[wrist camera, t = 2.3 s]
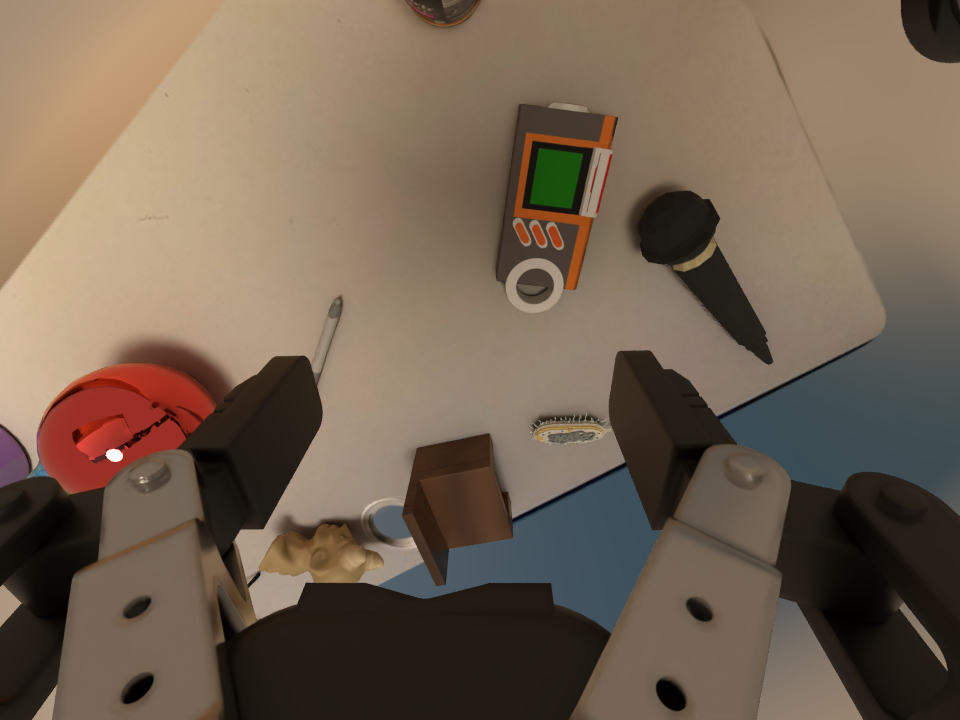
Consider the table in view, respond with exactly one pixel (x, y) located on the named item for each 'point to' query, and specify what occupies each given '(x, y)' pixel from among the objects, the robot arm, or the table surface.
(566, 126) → the electronic device
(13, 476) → the tape roll
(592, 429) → the bacterium model
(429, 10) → the pill bottle
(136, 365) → the ball
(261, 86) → the table surface
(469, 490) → the brown block with flange
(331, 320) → the pen
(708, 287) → the microphone
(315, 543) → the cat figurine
